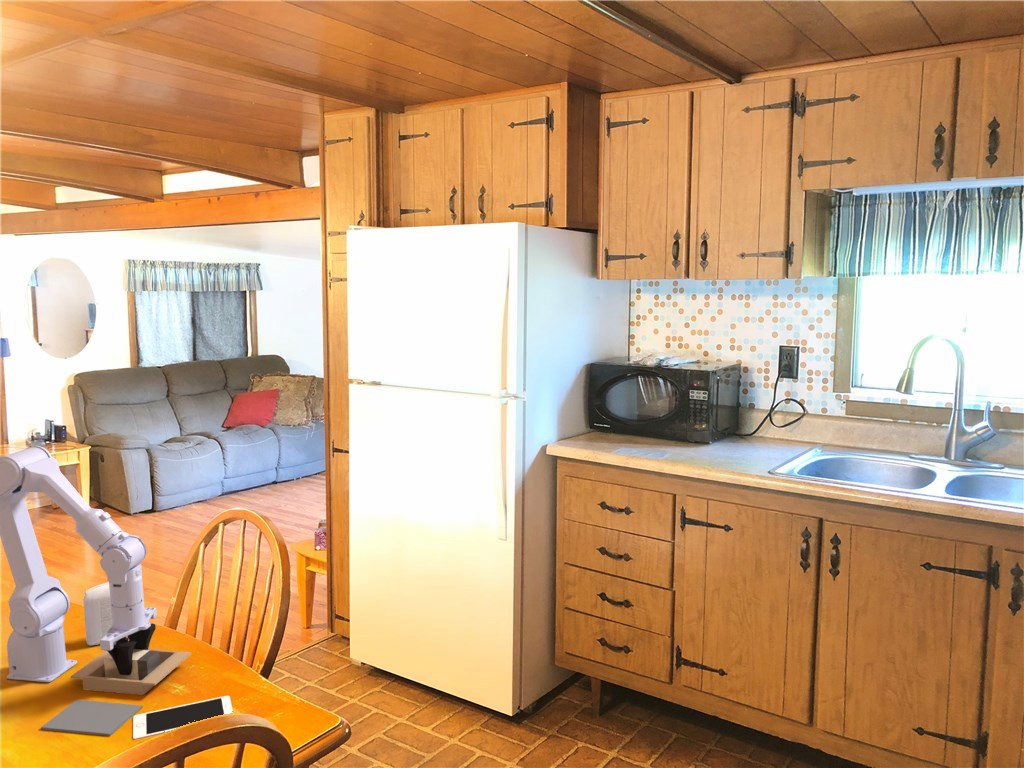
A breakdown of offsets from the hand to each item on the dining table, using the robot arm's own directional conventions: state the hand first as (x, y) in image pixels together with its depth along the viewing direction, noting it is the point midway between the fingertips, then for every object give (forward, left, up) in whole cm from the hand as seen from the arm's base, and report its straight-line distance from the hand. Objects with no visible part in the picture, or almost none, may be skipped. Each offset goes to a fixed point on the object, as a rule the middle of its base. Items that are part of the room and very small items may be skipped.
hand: (132, 668), depth 158 cm
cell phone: (+17, -12, -2) cm, 21 cm away
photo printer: (-14, +14, -2) cm, 20 cm away
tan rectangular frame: (0, 0, -2) cm, 2 cm away
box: (0, 0, -2) cm, 2 cm away
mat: (+2, -14, -2) cm, 15 cm away
